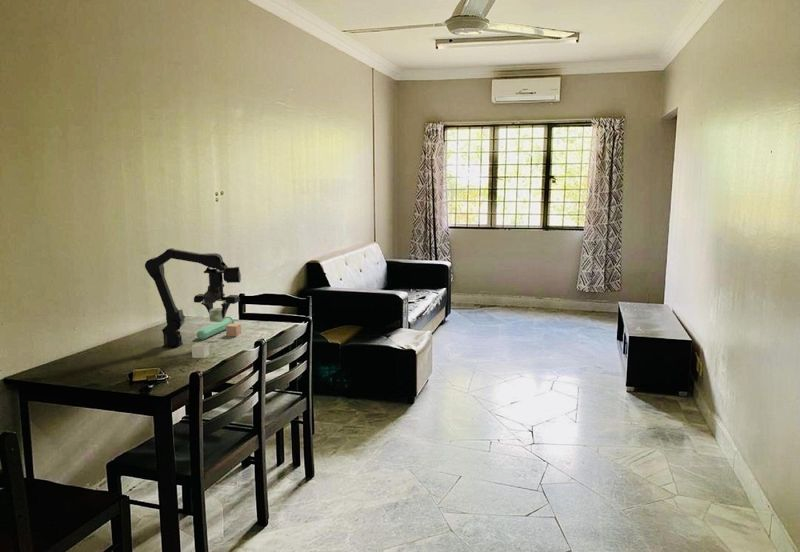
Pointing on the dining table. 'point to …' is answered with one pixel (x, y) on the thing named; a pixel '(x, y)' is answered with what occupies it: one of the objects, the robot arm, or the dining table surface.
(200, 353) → the off white block
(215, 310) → the sage block
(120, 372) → the dining table surface
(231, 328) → the terracotta block
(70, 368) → the dining table surface
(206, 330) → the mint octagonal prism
